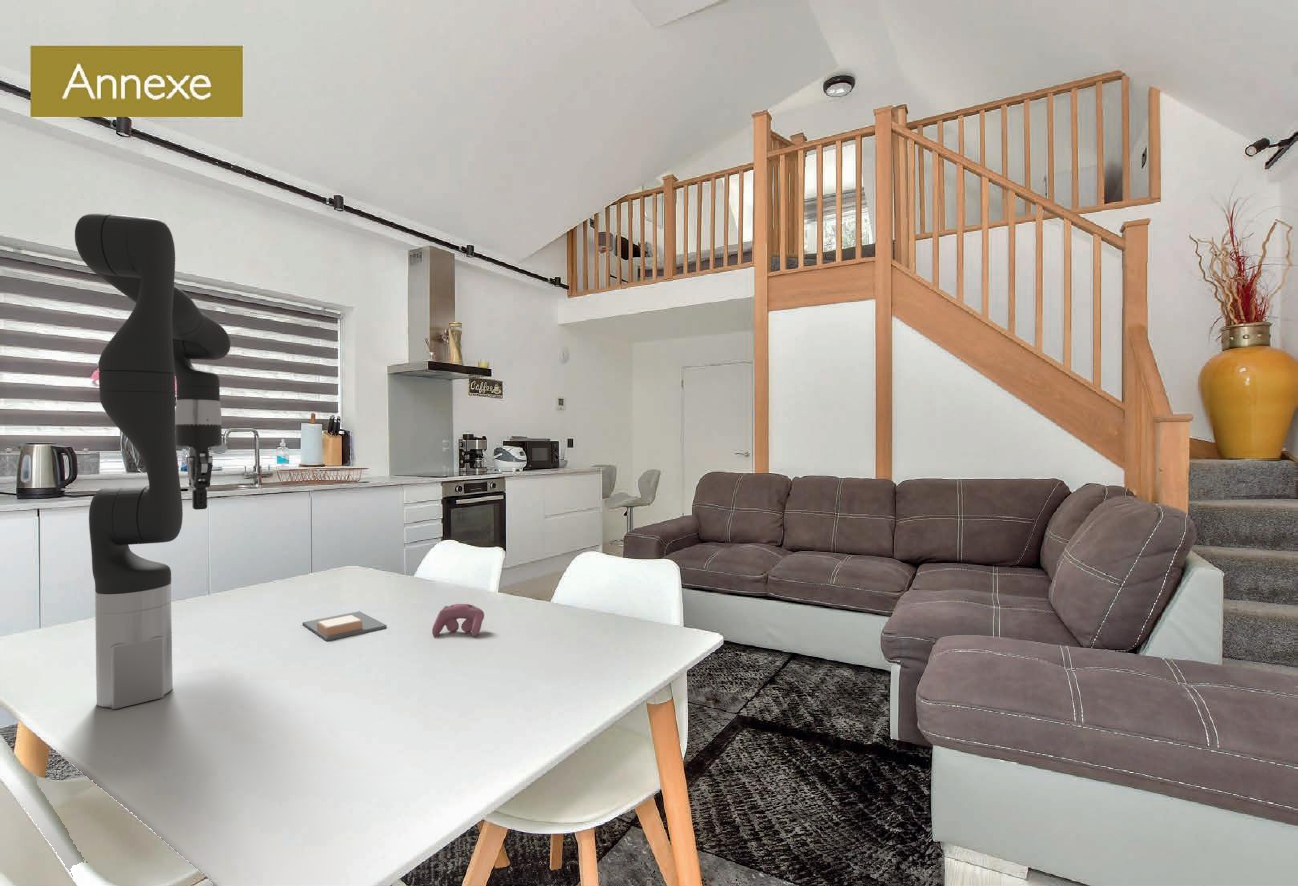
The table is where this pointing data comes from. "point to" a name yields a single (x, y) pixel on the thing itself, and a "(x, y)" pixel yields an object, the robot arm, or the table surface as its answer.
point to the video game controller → (455, 612)
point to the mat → (367, 626)
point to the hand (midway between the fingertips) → (199, 509)
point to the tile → (339, 625)
